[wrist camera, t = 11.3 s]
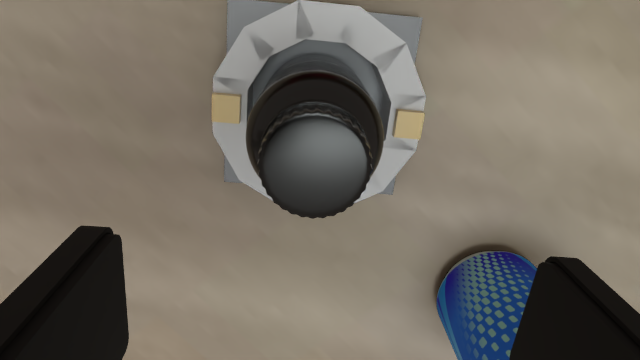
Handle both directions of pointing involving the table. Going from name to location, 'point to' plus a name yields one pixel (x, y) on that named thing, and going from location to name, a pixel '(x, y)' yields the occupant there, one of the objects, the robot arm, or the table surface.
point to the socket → (328, 39)
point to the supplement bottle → (314, 136)
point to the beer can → (485, 303)
